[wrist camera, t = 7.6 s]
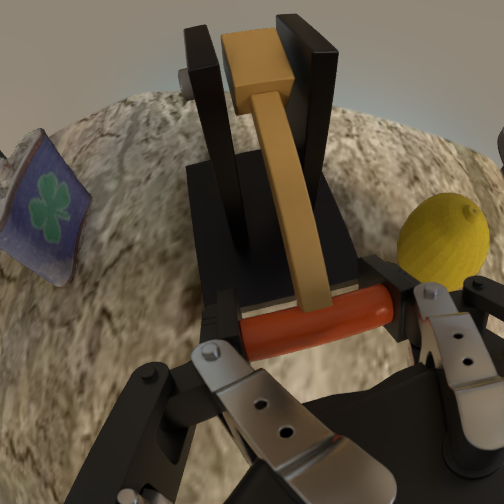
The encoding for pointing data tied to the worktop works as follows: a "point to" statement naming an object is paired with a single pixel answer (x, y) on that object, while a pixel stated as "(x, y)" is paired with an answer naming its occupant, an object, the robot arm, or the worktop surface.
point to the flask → (42, 209)
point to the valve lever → (291, 211)
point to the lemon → (444, 241)
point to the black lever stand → (261, 176)
